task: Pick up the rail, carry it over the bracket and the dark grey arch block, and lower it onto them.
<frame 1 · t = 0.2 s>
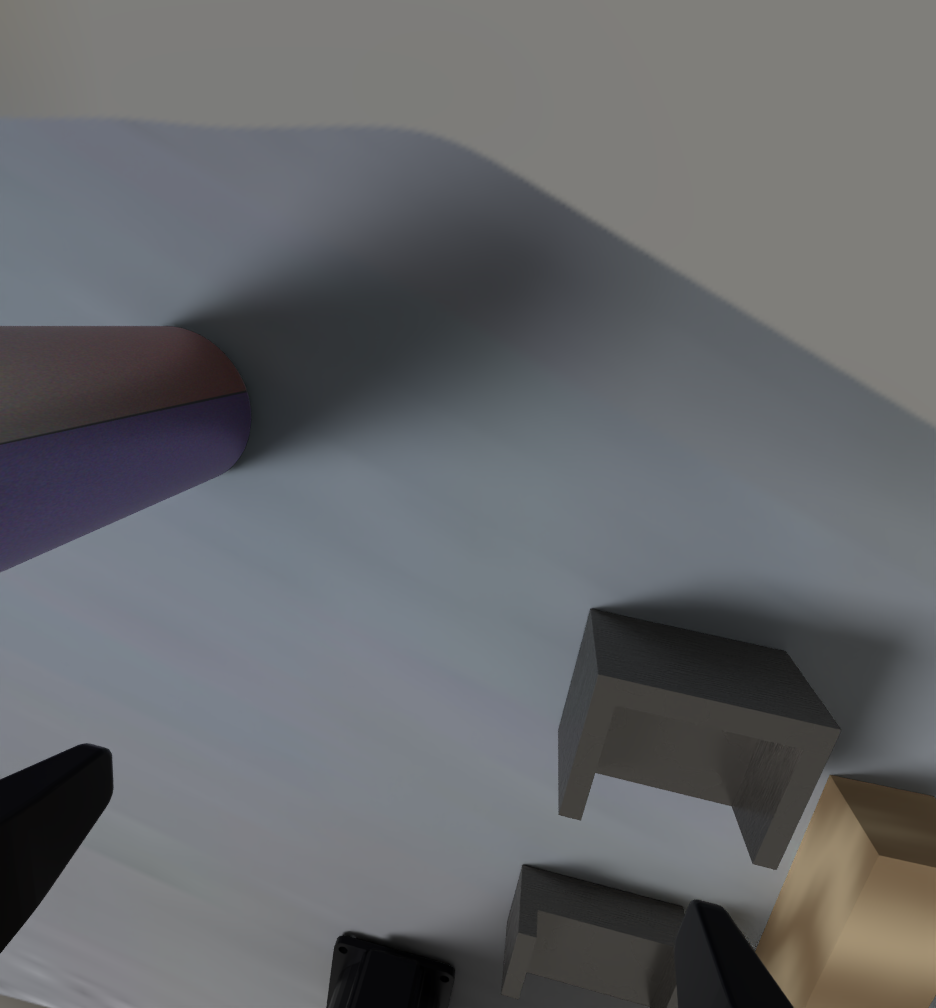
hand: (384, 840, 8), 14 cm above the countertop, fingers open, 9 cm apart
bracket: (662, 702, 23), on the countertop
rail: (821, 902, 25), on the countertop
beverage can: (192, 404, 23), on the countertop
dark grey arch block: (591, 915, 27), on the countertop
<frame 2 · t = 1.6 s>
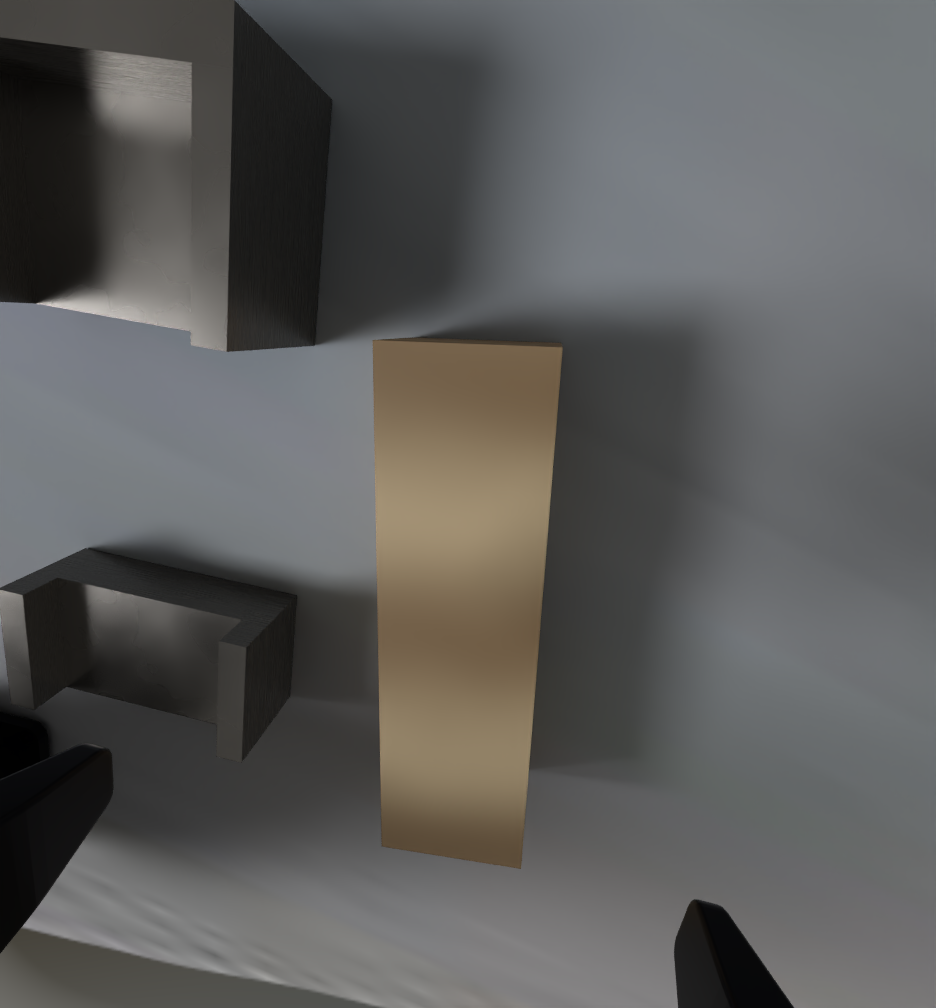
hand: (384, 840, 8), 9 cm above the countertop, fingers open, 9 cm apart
bracket: (190, 229, 16), on the countertop
rail: (478, 573, 18), on the countertop
dark grey arch block: (189, 623, 19), on the countertop
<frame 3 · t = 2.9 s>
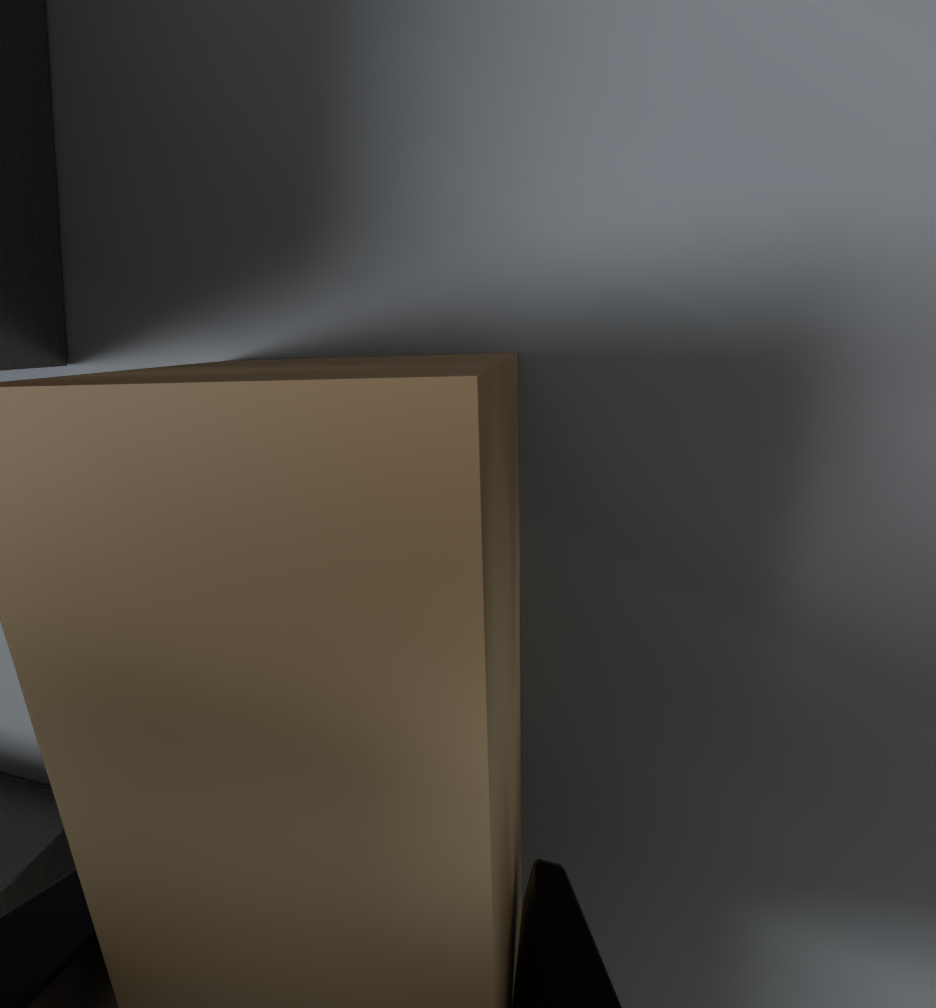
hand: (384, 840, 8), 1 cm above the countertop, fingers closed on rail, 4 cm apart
rail: (403, 781, 10), on the countertop, touching gripper
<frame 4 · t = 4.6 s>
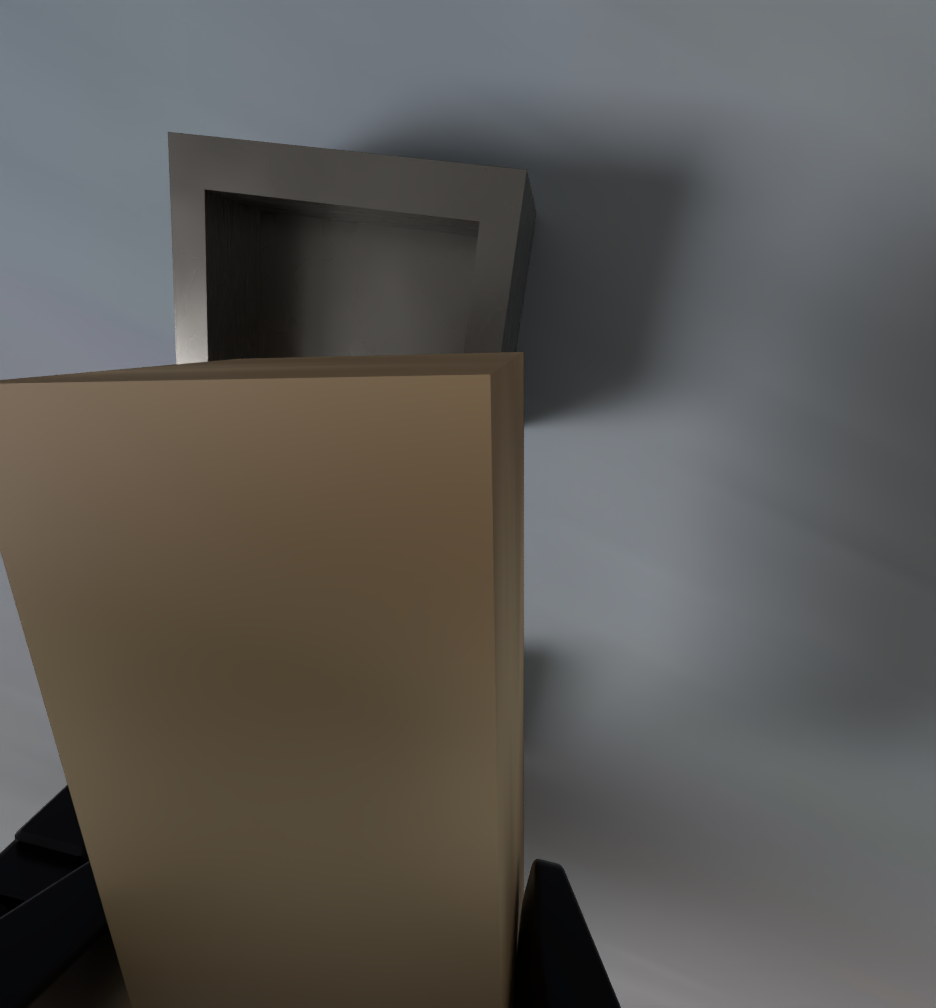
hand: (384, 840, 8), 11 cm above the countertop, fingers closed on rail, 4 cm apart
bracket: (390, 328, 17), on the countertop
rail: (406, 776, 10), point 9 cm above the countertop, touching gripper
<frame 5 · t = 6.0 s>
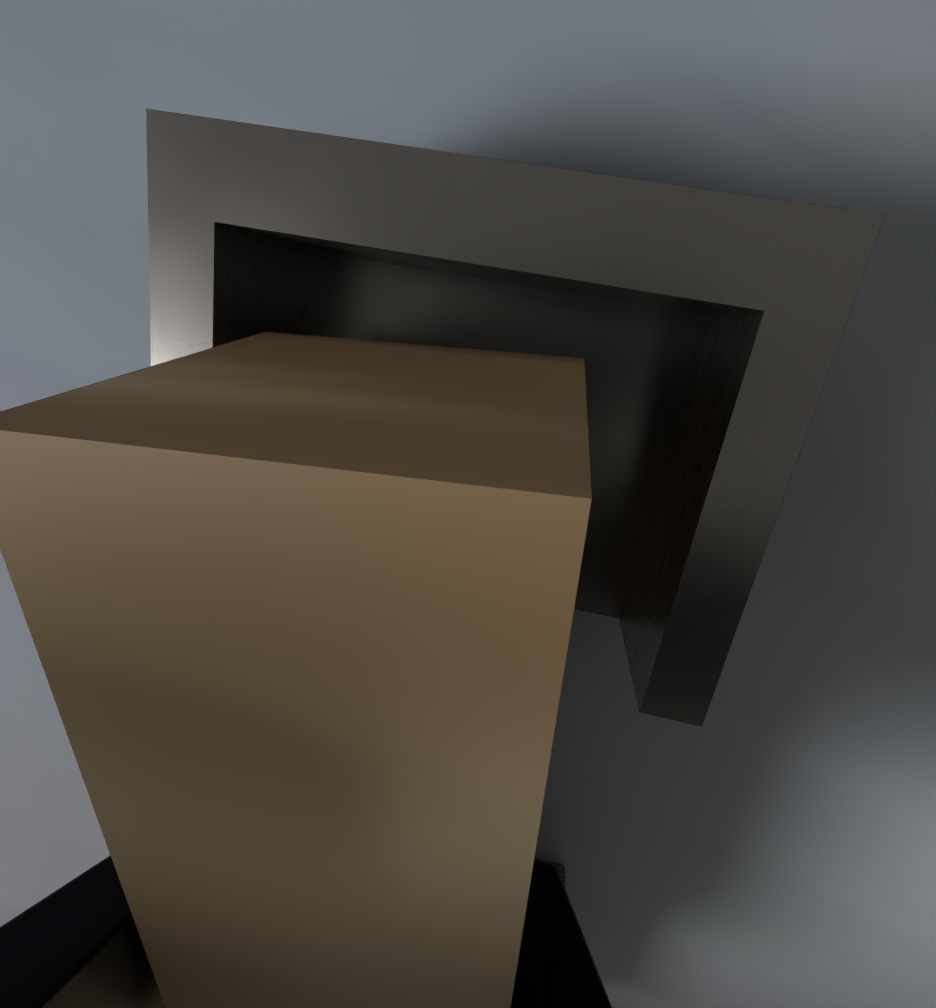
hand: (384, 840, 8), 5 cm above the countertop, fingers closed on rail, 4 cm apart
bracket: (486, 425, 11), on the countertop
rail: (414, 751, 10), point 3 cm above the countertop, tilted 8°, touching gripper
when the fingers open (4 cm above the countertop, at t = 6.5 s): rail stays where it is, resting on bracket, dark grey arch block.
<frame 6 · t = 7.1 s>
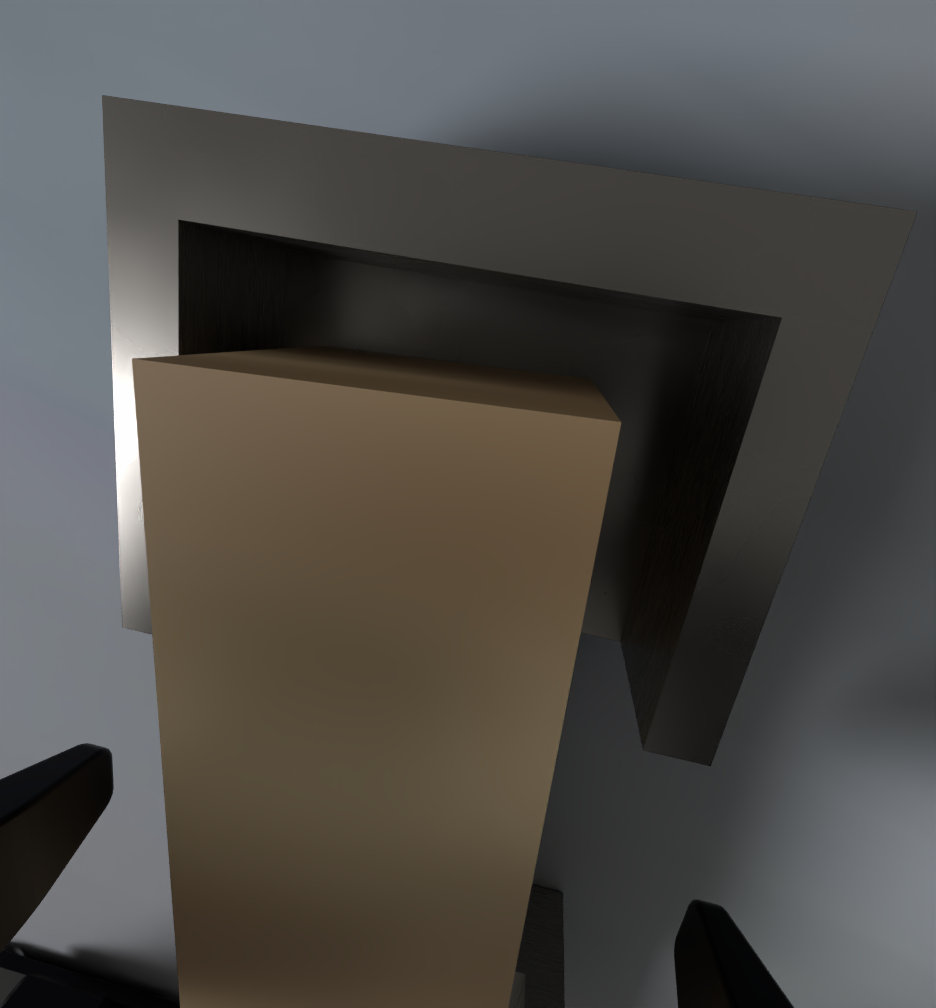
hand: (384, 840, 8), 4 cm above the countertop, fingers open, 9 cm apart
bracket: (480, 435, 11), on the countertop
rail: (414, 750, 10), point 2 cm above the countertop, touching bracket, dark grey arch block
dark grey arch block: (399, 910, 14), on the countertop
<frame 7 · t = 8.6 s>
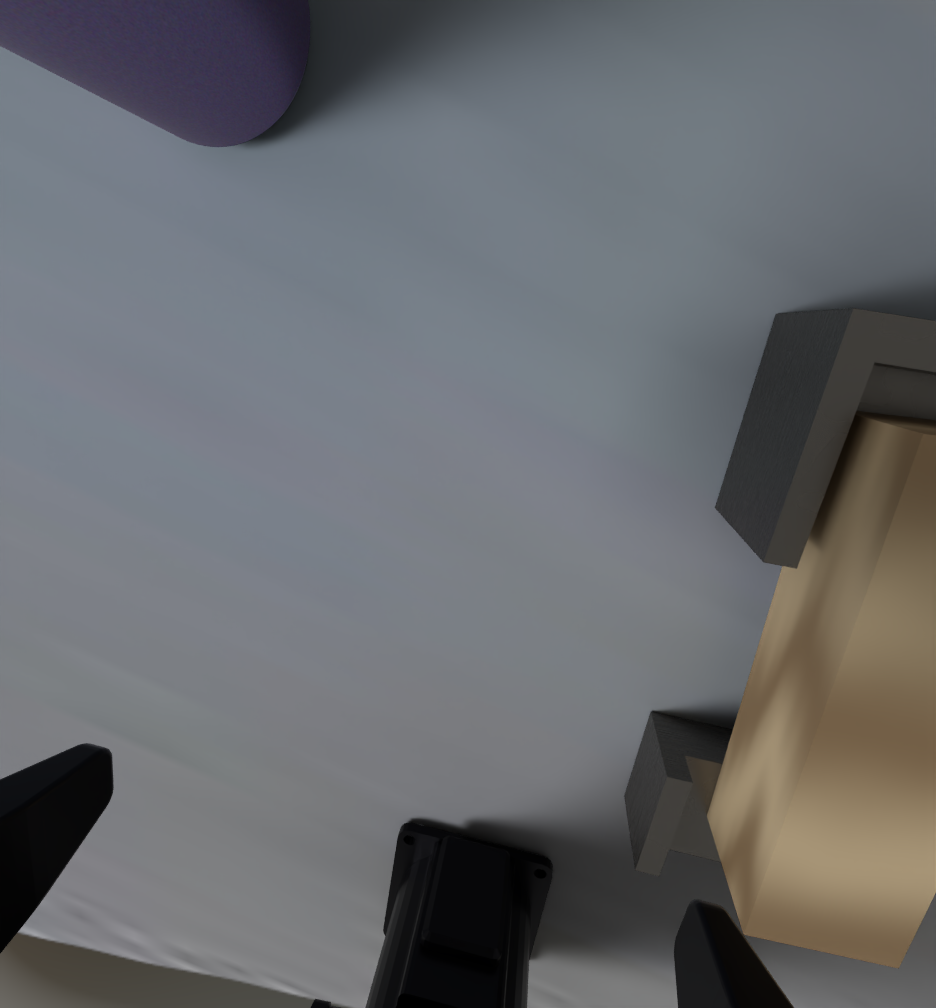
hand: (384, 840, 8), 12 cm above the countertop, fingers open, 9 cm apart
bracket: (867, 455, 17), on the countertop
rail: (830, 648, 17), point 2 cm above the countertop, touching bracket, dark grey arch block
beverage can: (226, 40, 17), on the countertop
dark grey arch block: (739, 779, 21), on the countertop
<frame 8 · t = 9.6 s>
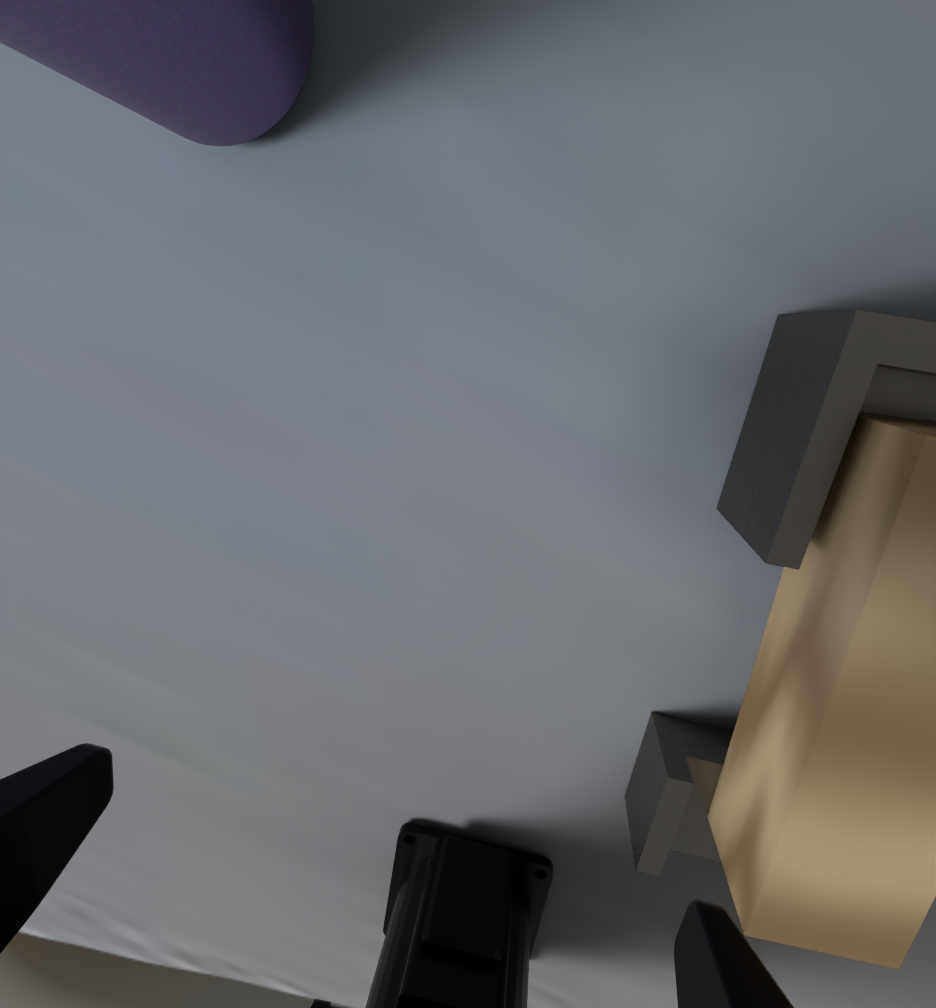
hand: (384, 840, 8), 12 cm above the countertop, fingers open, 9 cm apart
bracket: (868, 456, 17), on the countertop
rail: (831, 649, 17), point 2 cm above the countertop, touching bracket, dark grey arch block
beverage can: (229, 39, 17), on the countertop
dark grey arch block: (740, 779, 21), on the countertop
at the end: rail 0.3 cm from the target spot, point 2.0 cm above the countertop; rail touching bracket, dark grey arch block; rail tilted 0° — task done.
